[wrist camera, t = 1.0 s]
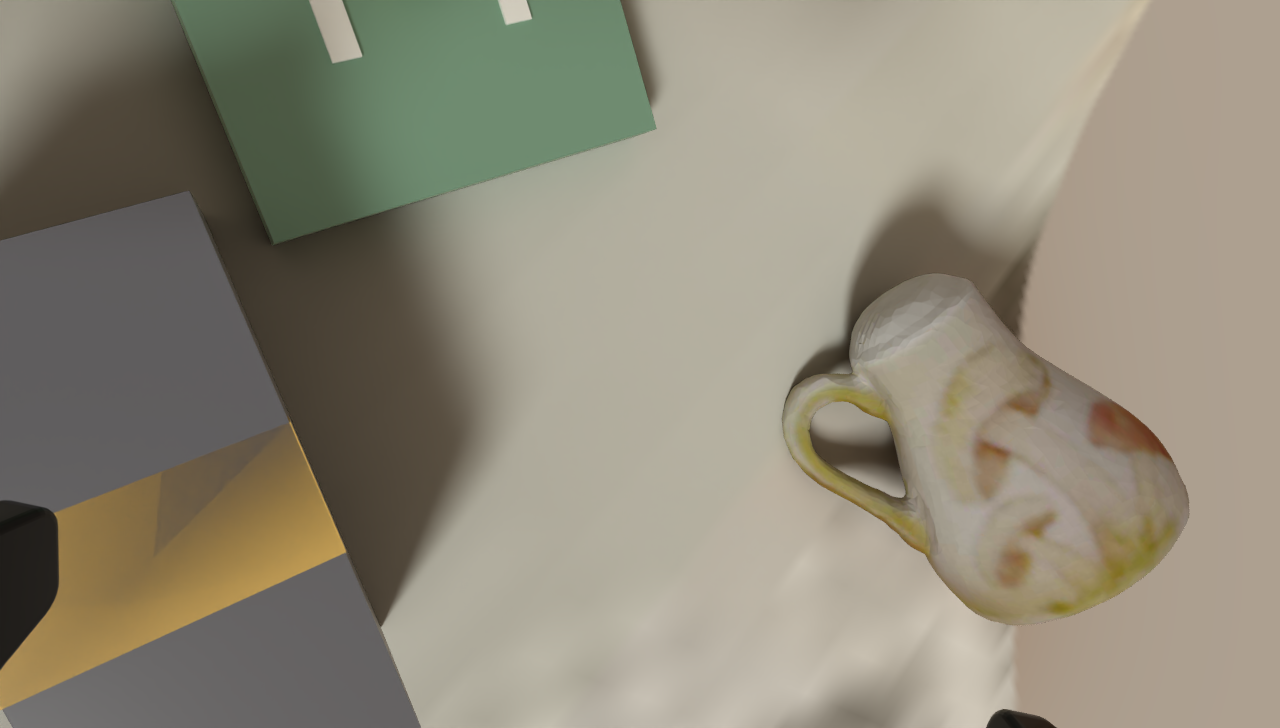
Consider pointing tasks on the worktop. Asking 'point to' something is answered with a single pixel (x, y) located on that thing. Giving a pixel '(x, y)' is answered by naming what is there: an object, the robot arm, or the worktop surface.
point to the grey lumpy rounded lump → (997, 458)
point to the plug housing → (171, 497)
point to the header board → (407, 96)
